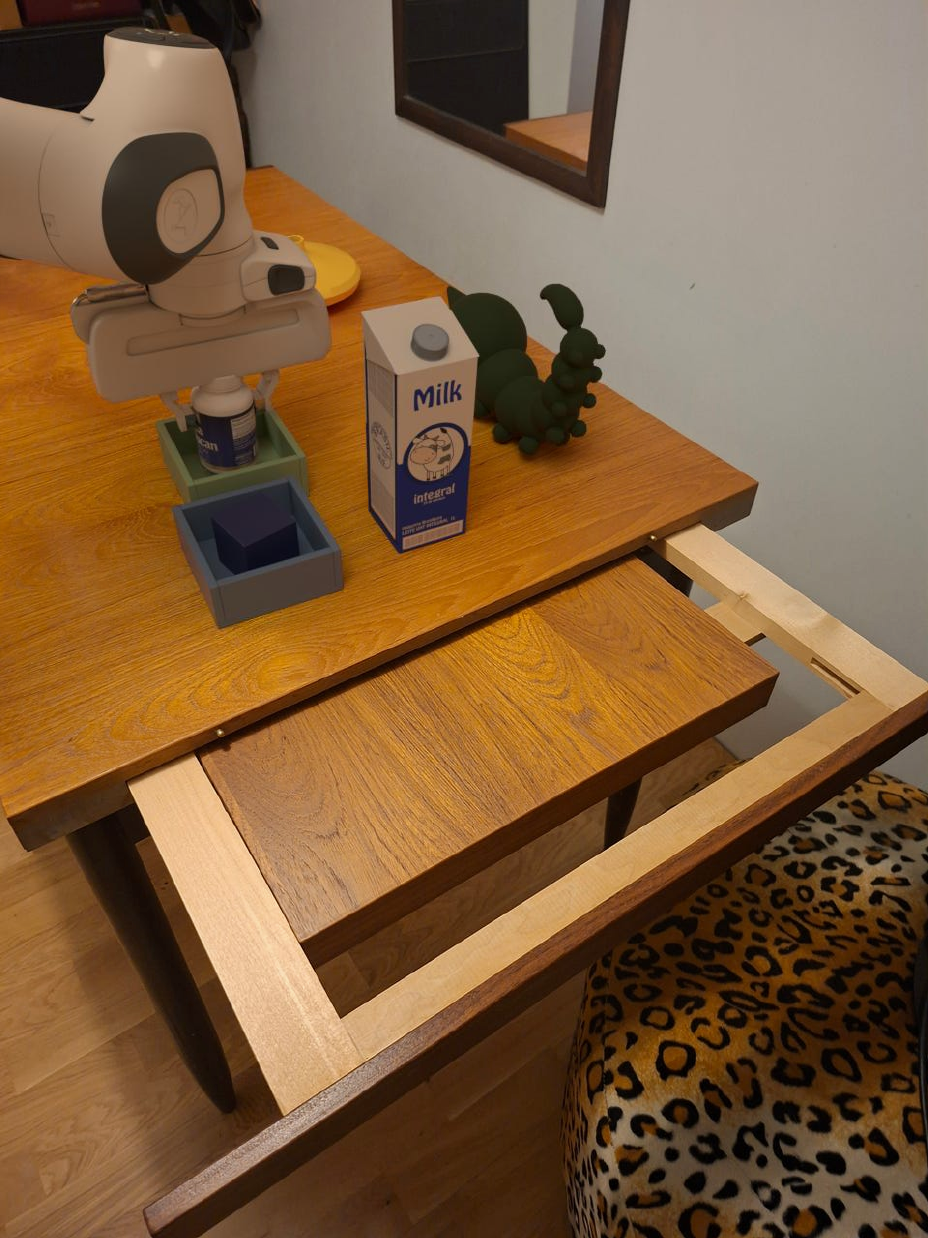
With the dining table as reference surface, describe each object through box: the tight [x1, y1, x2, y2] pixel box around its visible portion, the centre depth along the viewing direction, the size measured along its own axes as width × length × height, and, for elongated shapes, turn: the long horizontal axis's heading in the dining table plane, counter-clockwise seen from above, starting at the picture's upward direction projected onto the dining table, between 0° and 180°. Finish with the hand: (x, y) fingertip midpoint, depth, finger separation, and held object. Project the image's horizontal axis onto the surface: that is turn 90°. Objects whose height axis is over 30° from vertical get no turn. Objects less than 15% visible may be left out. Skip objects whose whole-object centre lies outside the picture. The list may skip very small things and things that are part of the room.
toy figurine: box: [446, 283, 607, 457], centre depth 87 cm, size 9×19×25 cm
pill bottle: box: [190, 375, 259, 474], centre depth 78 cm, size 5×5×10 cm
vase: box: [286, 234, 362, 307], centre depth 107 cm, size 16×16×7 cm
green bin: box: [154, 404, 311, 504], centre depth 82 cm, size 11×11×5 cm
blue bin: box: [170, 475, 344, 629], centre depth 74 cm, size 11×11×5 cm
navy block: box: [210, 492, 300, 575], centre depth 73 cm, size 5×5×5 cm
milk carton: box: [360, 295, 479, 554], centre depth 73 cm, size 7×7×20 cm
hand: (225, 418), depth 79 cm, fingers closed on pill bottle, 5 cm apart
